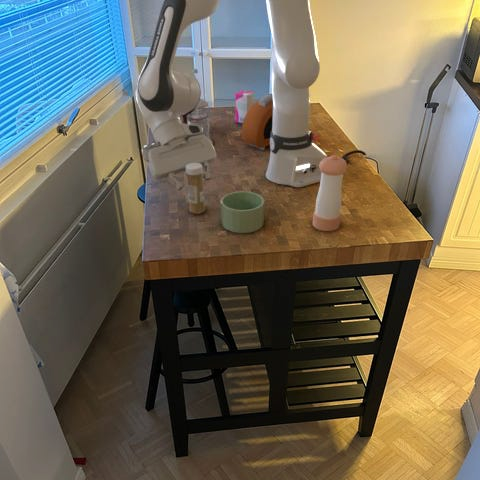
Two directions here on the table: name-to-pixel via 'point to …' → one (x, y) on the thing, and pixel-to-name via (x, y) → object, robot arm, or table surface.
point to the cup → (242, 211)
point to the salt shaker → (329, 194)
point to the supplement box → (243, 104)
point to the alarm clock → (259, 123)
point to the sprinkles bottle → (195, 187)
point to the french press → (200, 115)
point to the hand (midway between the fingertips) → (194, 183)
